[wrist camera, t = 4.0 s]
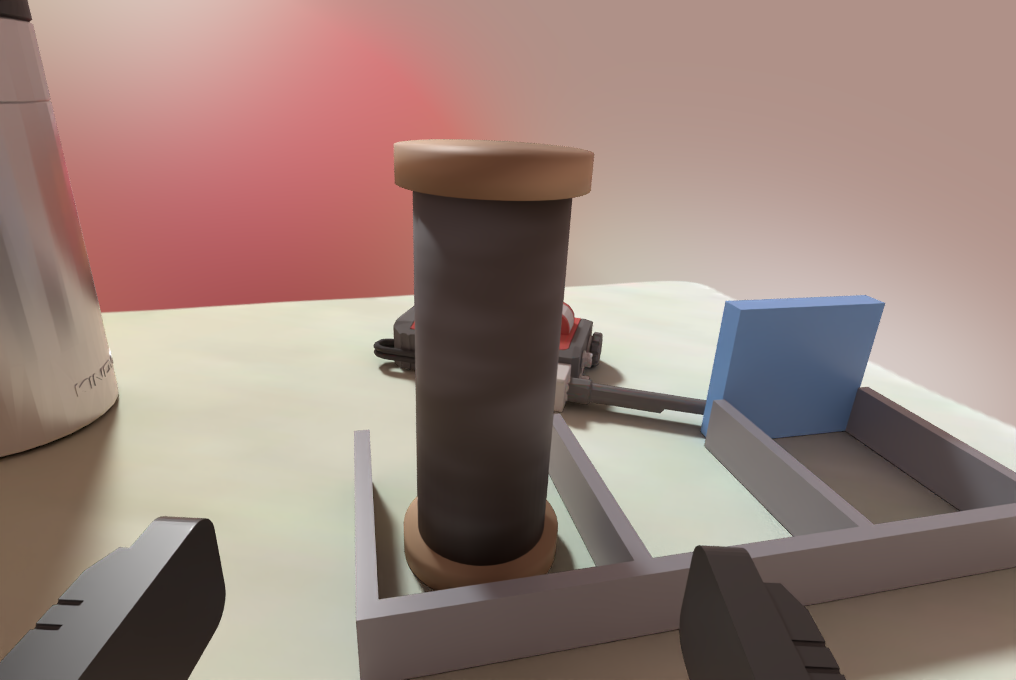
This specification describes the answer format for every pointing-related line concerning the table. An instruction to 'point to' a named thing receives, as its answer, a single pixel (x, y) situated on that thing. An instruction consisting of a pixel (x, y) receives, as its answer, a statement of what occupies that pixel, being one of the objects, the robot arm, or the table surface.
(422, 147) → the cord spool
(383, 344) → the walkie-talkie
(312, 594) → the table surface
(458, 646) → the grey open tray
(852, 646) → the table surface
